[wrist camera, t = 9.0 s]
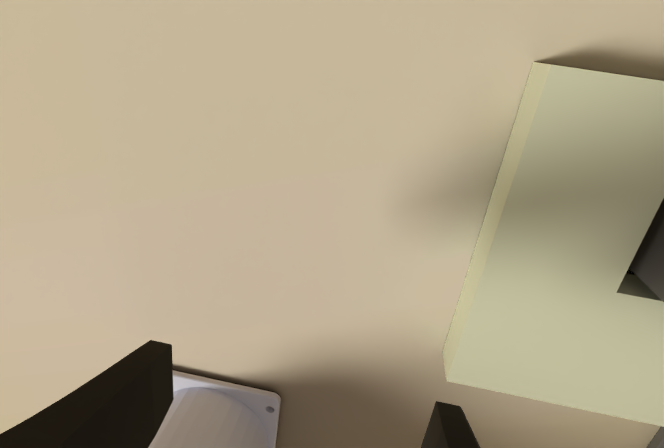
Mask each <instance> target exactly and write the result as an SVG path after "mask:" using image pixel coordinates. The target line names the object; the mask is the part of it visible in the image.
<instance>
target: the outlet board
mask: <svg viewBox="0 0 664 448" xmlns="http://www.w3.org/2000/svg"><path fill="white" fill-rule="evenodd" d="M663 198H664V81H660V80H654V79H647V78H640V77H633V76H626V75H620V74H613V73H606V72H599V71H592V70H585V69H579V68H572V67H565V66H558V65H551V64H544V63H538V62H533V65H532V68H531V71H530V74H529V78H528V81H527V84H526V87H525V90H524V94H523V97H522V100H521V103H520V106H519V109H518V113H517V116H516V119H515V122H514V125H513V129H512V132H511V135H510V138H509V141H508V145H507V148H506V151H505V154H504V157H503V160H502V164H501V167H500V170H499V173H498V176H497V180H496V183H495V186H494V189H493V192H492V196H491V199H490V202H489V205H488V208H487V212H486V215H485V218H484V221H483V224H482V227H481V231H480V234H479V237H478V240H477V243H476V247H475V250H474V253H473V256H472V259H471V263H470V266H469V269H468V272H467V275H466V278H465V282H464V285H463V288H462V291H461V294H460V298H459V301H458V304H457V307H456V310H455V314H454V317H453V320H452V323H451V326H450V329H449V333H448V336H447V339H446V342H445V345H444V349H443V352H442V353H443V361H444V368H445V375H446V381H448V382H453V383H457V384H462V385H467V386H472V387H476V388H481V389H486V390H491V391H496V392H500V393H505V394H510V395H515V396H519V397H524V398H529V399H534V400H538V401H543V402H548V403H553V404H557V405H562V406H567V407H572V408H577V409H581V410H586V411H591V412H596V413H600V414H605V415H610V416H615V417H619V418H624V419H629V420H634V421H639V422H643V423H648V424H653V425H658V426H662V427H664V302H663V301H662V300H661V299H660V298H659V297H658V296H657V295H656V294H655V293H654V292H653V291H652V290H651V289H650V288H649V287H648V286H647V285H646V284H645V283H644V282H643V281H642V280H640V279H639V278H638V277H637V276H636V275H632V274H626V272H627V270H628V268H629V266H630V264H631V262H632V260H633V258H634V256H635V254H636V252H637V250H638V248H639V246H640V244H641V242H642V240H643V238H644V236H645V234H646V232H647V230H648V228H649V226H650V224H651V222H652V220H653V218H654V216H655V214H656V212H657V210H658V208H659V206H660V204H661V202H662V200H663Z"/></svg>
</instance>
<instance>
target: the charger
mask: <svg viewBox="0 0 664 448" xmlns="http://www.w3.org/2000/svg"><path fill="white" fill-rule="evenodd" d="M629 269H630V270H631V271H632V272H633V273H634V274H635V275H636V276H637V277H638V278H639V279H640V280H642V281H643V282H644V283H645V284H646V285H647V286H648V287H649V288H650V289H651V290H652V291H653V292H654V293H655V294H656V295H657V296H658V297H659V298H660V299H661V300H662V301H663V302H664V198H663V200H662V202H661V204H660V206H659V208H658V210H657V212H656V214H655V216H654V218H653V220H652V222H651V224H650V226H649V228H648V230H647V232H646V234H645V236H644V238H643V240H642V242H641V244H640V246H639V248H638V250H637V252H636V254H635V256H634V258H633V260H632V262H631V264H630V266H629Z"/></svg>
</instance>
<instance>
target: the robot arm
mask: <svg viewBox="0 0 664 448" xmlns="http://www.w3.org/2000/svg"><path fill="white" fill-rule="evenodd" d="M280 403H281V399H280V397H279V395H278V394H276V393H274V392H270V391H265V390H261V389H256V388H251V387H247V386H242V385H238V384H233V383H229V382H224V381H220V380H215V379H210V378H206V377H201V376H197V375H192V374H188V373H183V372H178V371H174V370H173V369H172V345H171V344H166V343H162V342H157V341H152V340H150V341H149V342H147V343H145V344H144V345H142V346H141V347H139V348H138V349H136V350H135V351H133V352H132V353H130V354H129V355H127V356H126V357H124V358H123V359H121V360H120V361H119V362H117V363H116V364H114V365H113V366H111V367H110V368H108V369H107V370H105V371H104V372H102V373H101V374H99V375H98V376H96V377H95V378H93V379H92V380H90V381H88V382H87V383H85V384H84V385H82V386H81V387H79V388H78V389H76V390H75V391H73V392H72V393H70V394H68V395H67V396H65V397H64V398H62V399H60V400H59V401H57V402H55V403H54V404H52V405H50V406H49V407H47V408H45V409H44V410H42V411H40V412H39V413H37V414H35V415H34V416H32V417H30V418H29V419H27V420H25V421H23V422H22V423H20V424H18V425H16V426H14V427H13V428H11V429H9V430H7V431H5V432H4V433H2V434H0V448H276V439H277V430H278V421H279V412H280ZM269 406H271V407H269ZM421 448H480V446H479V444H478V442H477V440H476V438H475V436H474V434H473V432H472V429H471V427H470V425H469V423H468V421H467V419H466V416H465V414H464V412H463V410H462V409H461V407H460V406H456V405H451V404H447V403H442V402H437V401H436V403H435V406H434V409H433V412H432V415H431V418H430V422H429V425H428V428H427V431H426V434H425V437H424V440H423V443H422V446H421Z"/></svg>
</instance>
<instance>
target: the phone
mask: <svg viewBox="0 0 664 448" xmlns="http://www.w3.org/2000/svg"><path fill="white" fill-rule="evenodd" d="M647 448H664V427H662V426H661V428H660V429H659V431H658V432H657V433H656V435H655V436H654V438H653V439H652V441H651V442H650V443H649V445H648V446H647Z"/></svg>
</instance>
